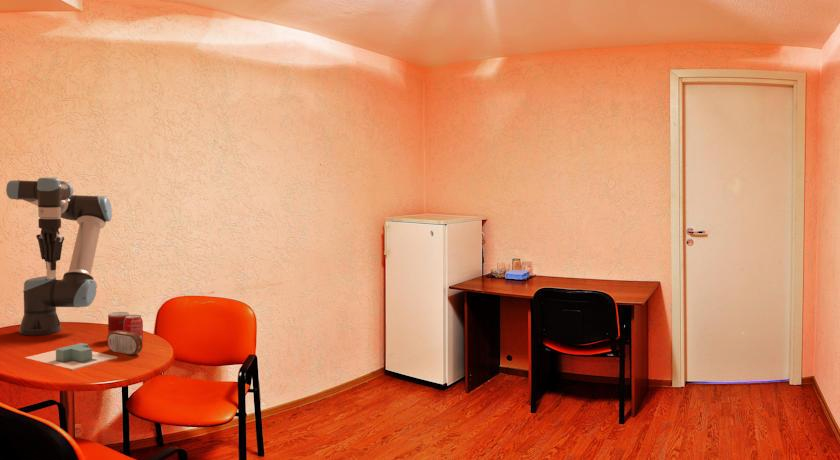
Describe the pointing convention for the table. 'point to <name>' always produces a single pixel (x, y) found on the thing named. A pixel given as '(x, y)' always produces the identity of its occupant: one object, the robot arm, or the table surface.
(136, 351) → the tin
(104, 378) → the table surface
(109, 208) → the robot arm
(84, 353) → the t block
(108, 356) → the mat
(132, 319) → the soda can
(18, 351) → the table surface
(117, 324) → the canned food
